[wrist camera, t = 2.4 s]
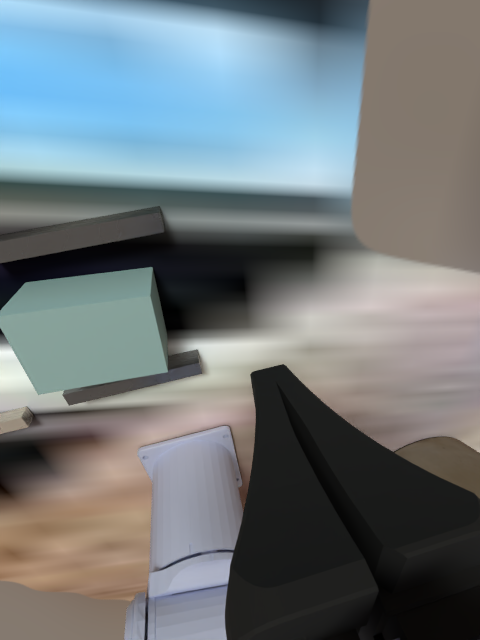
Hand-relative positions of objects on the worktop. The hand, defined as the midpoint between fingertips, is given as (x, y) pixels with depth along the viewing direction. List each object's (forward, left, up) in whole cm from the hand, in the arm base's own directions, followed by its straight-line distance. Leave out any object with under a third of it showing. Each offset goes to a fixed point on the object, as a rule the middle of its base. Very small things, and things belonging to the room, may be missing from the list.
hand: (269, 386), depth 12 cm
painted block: (0, +8, -10) cm, 12 cm away
